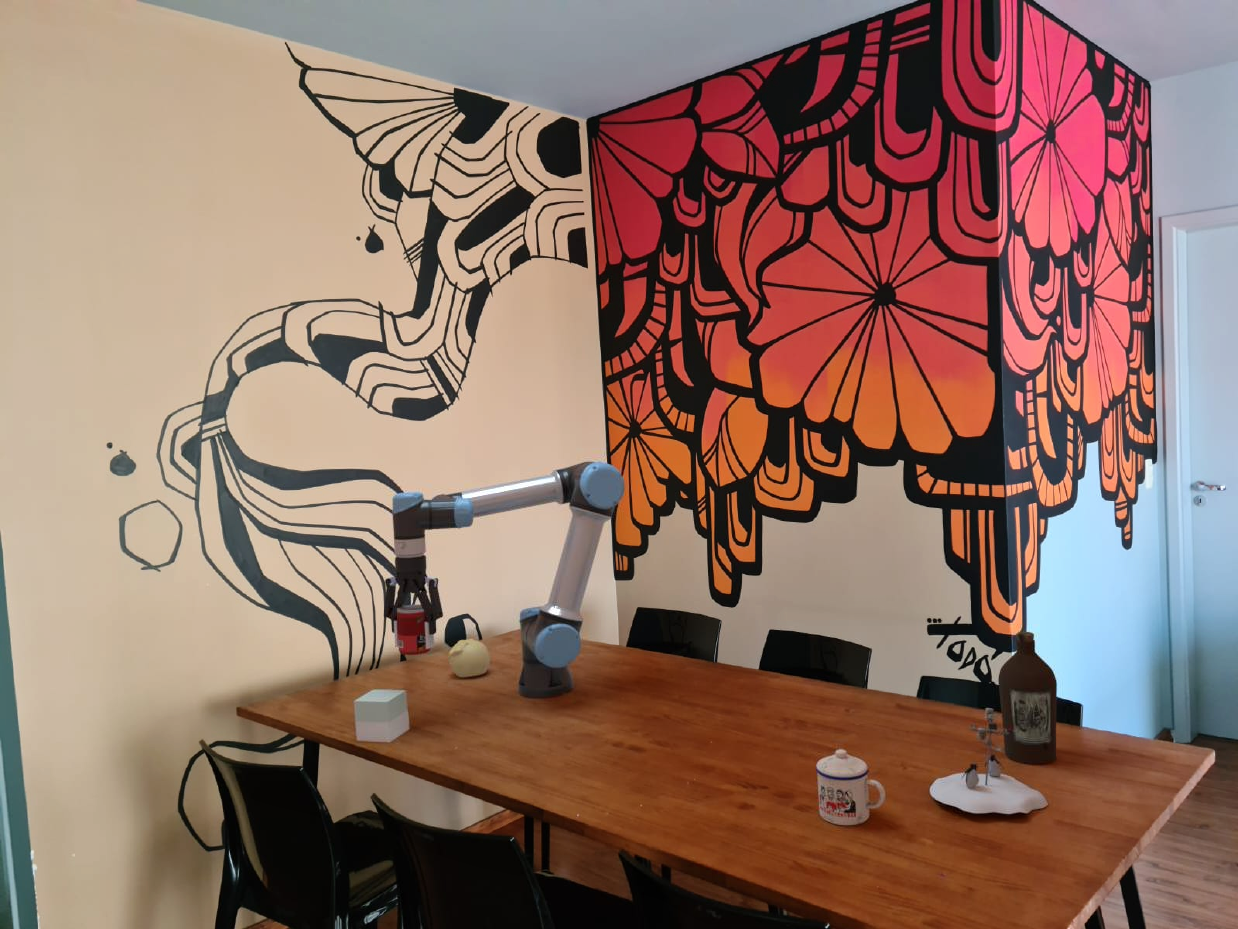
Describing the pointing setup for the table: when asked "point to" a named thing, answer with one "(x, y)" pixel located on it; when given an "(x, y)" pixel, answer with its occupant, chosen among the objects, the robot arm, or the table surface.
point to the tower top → (380, 706)
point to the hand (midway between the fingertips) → (414, 646)
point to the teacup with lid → (845, 789)
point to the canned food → (411, 630)
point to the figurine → (987, 784)
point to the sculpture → (469, 658)
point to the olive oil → (1028, 704)
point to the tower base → (382, 729)
